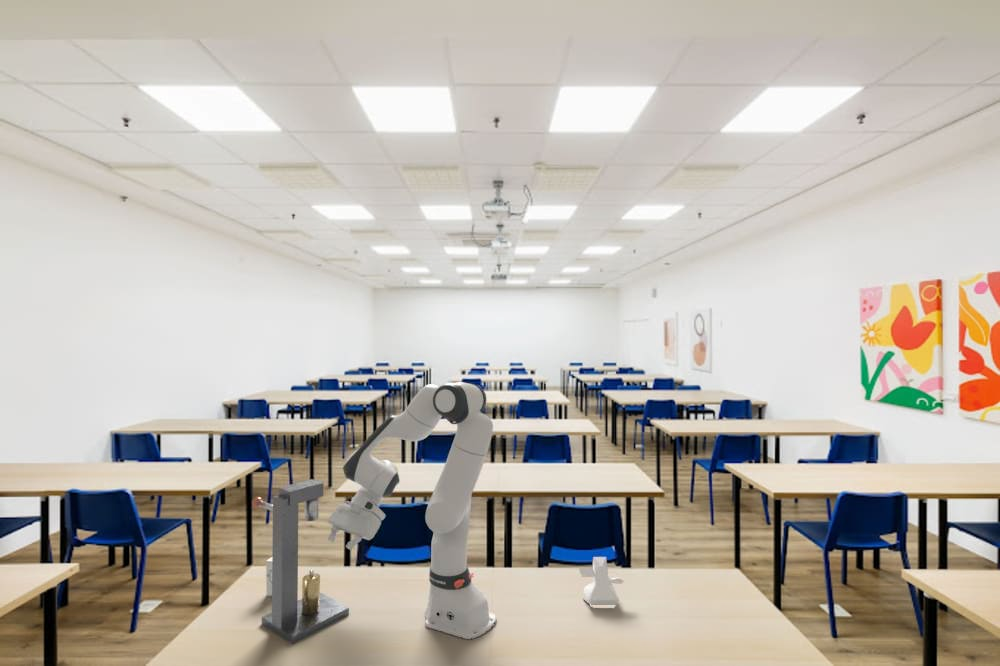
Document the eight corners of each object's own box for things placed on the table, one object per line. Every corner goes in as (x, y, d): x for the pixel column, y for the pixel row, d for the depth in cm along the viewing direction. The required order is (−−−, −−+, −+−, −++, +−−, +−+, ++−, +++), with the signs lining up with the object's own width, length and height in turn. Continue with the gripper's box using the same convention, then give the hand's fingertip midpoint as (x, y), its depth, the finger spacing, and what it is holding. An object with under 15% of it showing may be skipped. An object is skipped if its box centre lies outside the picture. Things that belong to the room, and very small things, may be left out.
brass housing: (322, 609, 158) (323, 570, 158) (308, 616, 154) (309, 576, 154) (312, 604, 161) (313, 565, 161) (298, 610, 157) (299, 571, 157)
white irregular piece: (626, 610, 164) (627, 567, 163) (582, 610, 163) (583, 567, 163) (620, 596, 172) (620, 555, 172) (578, 596, 172) (578, 555, 172)
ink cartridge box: (281, 583, 178) (281, 540, 178) (294, 585, 177) (294, 542, 177) (265, 596, 170) (265, 551, 170) (278, 597, 169) (279, 552, 169)
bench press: (348, 614, 159) (350, 481, 159) (292, 643, 144) (293, 497, 144) (302, 589, 174) (303, 467, 174) (246, 613, 159) (247, 480, 159)
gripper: (338, 495, 178) (313, 532, 170) (378, 507, 166) (353, 548, 158) (349, 504, 181) (325, 541, 174) (389, 517, 169) (365, 557, 161)
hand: (339, 544), depth 166 cm, fingers open, 8 cm apart
